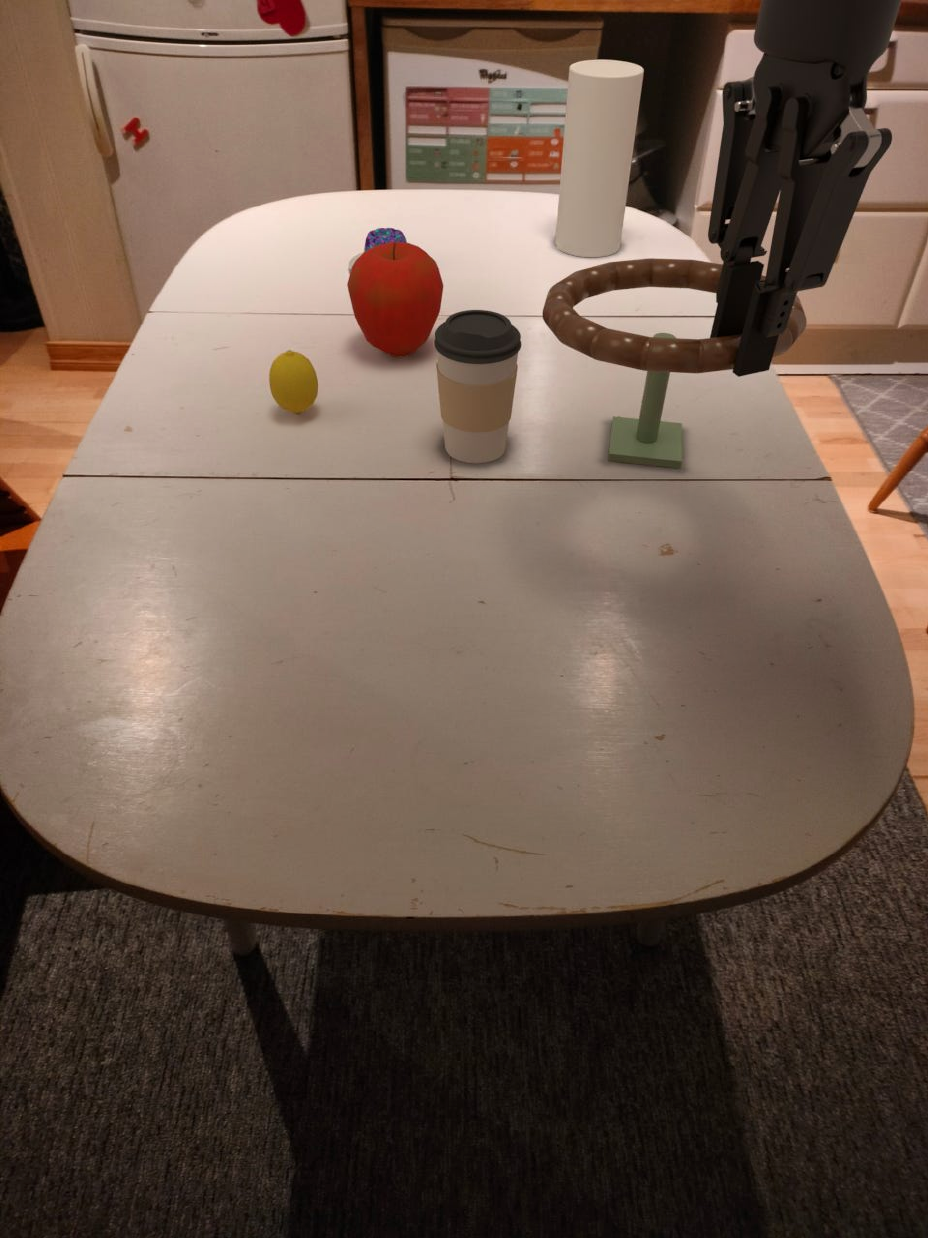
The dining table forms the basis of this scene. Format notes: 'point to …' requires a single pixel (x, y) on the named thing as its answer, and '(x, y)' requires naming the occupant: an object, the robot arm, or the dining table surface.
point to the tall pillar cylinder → (597, 155)
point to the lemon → (293, 382)
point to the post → (648, 428)
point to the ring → (642, 348)
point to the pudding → (380, 240)
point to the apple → (395, 296)
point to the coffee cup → (476, 382)
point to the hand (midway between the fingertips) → (737, 360)
